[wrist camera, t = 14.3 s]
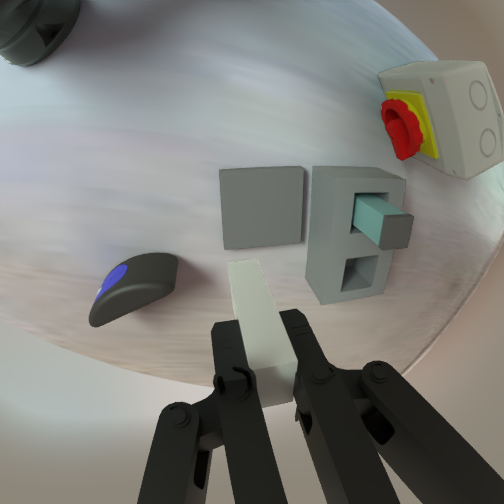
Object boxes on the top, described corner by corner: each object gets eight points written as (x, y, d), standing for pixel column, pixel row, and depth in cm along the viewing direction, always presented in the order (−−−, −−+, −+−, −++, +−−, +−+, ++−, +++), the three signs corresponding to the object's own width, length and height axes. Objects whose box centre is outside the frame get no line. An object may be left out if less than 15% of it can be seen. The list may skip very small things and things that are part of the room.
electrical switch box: (344, 82, 36) (413, 81, 19) (411, 61, 33) (491, 62, 16) (375, 159, 43) (443, 203, 26) (435, 133, 40) (510, 165, 23)
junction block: (312, 166, 40) (335, 177, 33) (379, 167, 42) (408, 179, 35) (305, 278, 49) (321, 305, 42) (364, 269, 51) (385, 293, 44)
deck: (219, 169, 38) (219, 171, 37) (300, 166, 40) (303, 168, 38) (223, 245, 43) (224, 249, 42) (297, 238, 45) (300, 242, 44)
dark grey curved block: (165, 236, 41) (158, 268, 33) (180, 259, 43) (177, 294, 35) (91, 278, 42) (73, 312, 34) (106, 297, 44) (92, 333, 36)
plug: (336, 185, 41) (388, 218, 29) (359, 185, 41) (413, 216, 29) (334, 211, 43) (382, 250, 31) (356, 209, 43) (407, 247, 31)
